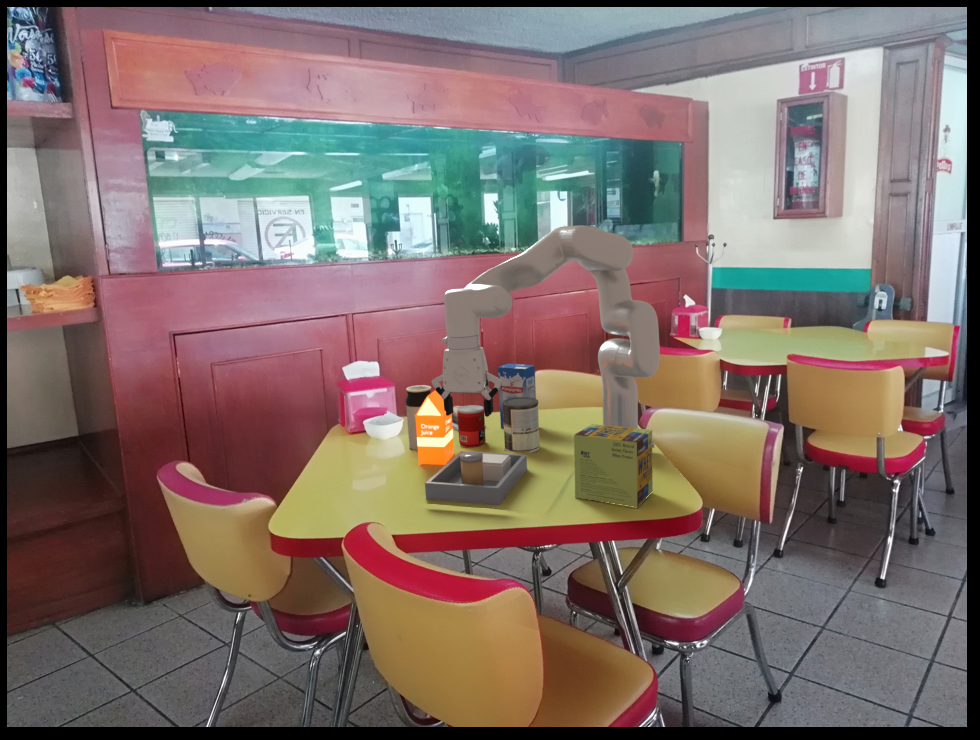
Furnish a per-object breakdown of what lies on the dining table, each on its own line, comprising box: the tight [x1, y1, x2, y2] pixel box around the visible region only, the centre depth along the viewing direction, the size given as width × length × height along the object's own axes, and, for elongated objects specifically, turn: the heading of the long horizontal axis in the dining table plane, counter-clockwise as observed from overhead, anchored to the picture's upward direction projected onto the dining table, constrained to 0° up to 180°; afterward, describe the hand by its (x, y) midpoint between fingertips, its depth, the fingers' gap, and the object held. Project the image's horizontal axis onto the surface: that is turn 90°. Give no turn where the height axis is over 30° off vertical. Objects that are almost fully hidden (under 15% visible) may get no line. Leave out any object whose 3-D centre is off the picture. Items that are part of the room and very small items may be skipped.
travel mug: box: [405, 384, 432, 451], centre depth 204 cm, size 8×8×18 cm
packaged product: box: [452, 405, 487, 432], centre depth 228 cm, size 18×5×10 cm
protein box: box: [573, 423, 654, 508], centre depth 159 cm, size 10×15×16 cm
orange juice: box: [416, 389, 455, 467], centre depth 189 cm, size 8×9×20 cm
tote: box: [424, 450, 528, 510], centre depth 169 cm, size 18×24×5 cm
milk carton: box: [497, 363, 537, 429], centre depth 219 cm, size 10×6×20 cm, turn 58°
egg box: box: [483, 454, 511, 481], centre depth 175 cm, size 11×7×5 cm, turn 72°
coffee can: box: [502, 397, 541, 453], centre depth 198 cm, size 10×10×14 cm
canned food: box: [457, 404, 487, 448], centre depth 205 cm, size 8×8×11 cm
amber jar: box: [460, 450, 484, 485], centre depth 164 cm, size 5×5×9 cm
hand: (469, 414), depth 162 cm, fingers open, 9 cm apart
